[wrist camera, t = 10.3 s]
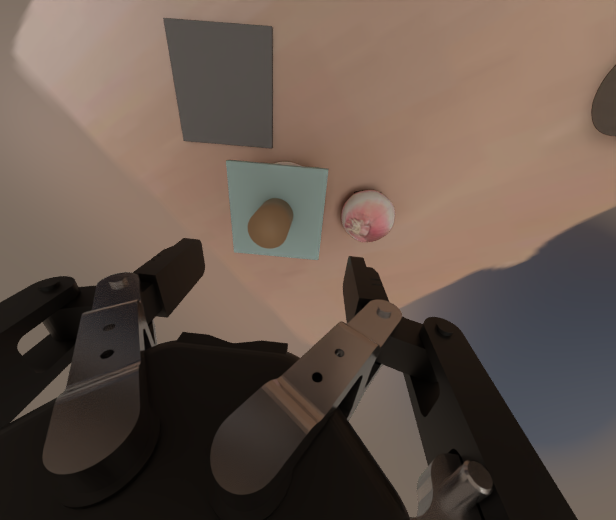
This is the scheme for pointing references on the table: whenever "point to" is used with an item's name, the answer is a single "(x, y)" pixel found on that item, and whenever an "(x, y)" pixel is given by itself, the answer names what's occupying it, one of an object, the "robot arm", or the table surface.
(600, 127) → the coffee mug
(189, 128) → the mat
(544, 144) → the table surface
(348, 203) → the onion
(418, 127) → the table surface
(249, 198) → the lid
